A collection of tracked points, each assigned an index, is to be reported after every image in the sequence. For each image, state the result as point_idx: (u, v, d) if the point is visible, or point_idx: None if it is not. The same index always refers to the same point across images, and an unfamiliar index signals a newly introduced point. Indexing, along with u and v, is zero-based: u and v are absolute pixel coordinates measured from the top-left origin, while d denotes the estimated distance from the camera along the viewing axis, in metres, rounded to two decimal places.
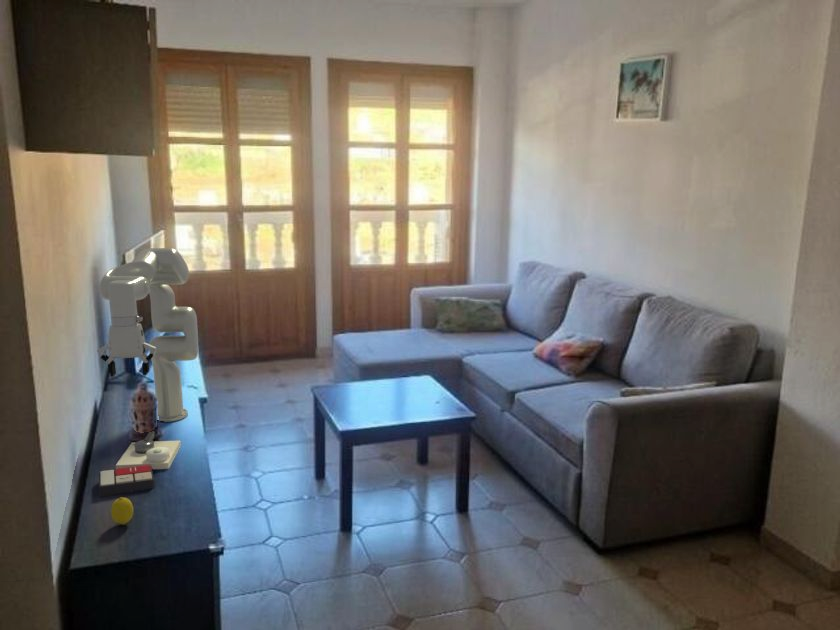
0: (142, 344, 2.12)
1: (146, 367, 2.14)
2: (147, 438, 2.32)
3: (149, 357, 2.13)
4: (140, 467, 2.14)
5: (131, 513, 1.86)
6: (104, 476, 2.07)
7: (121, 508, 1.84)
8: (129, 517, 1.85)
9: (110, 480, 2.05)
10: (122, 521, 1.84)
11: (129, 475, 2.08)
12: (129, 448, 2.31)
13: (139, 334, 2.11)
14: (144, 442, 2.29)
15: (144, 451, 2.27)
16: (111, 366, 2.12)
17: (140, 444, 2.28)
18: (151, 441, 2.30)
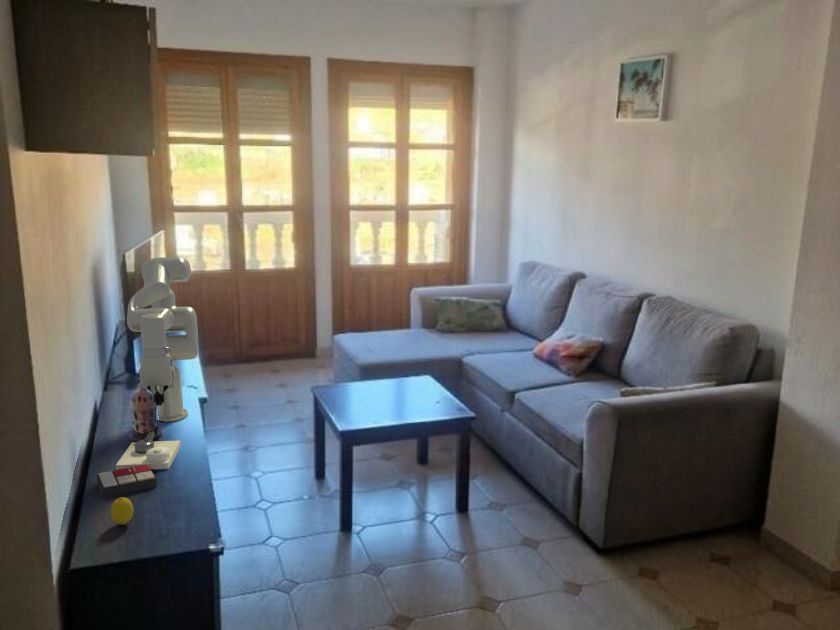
0: (171, 373, 2.26)
1: (161, 398, 2.28)
2: (147, 438, 2.32)
3: (164, 389, 2.28)
4: (138, 467, 2.14)
5: (131, 513, 1.86)
6: (104, 478, 2.06)
7: (121, 508, 1.84)
8: (129, 517, 1.85)
9: (112, 481, 2.04)
10: (122, 521, 1.84)
11: (130, 475, 2.08)
12: (129, 448, 2.31)
13: (169, 364, 2.25)
14: (144, 442, 2.29)
15: (144, 451, 2.27)
16: (156, 396, 2.28)
17: (140, 444, 2.28)
18: (151, 441, 2.30)
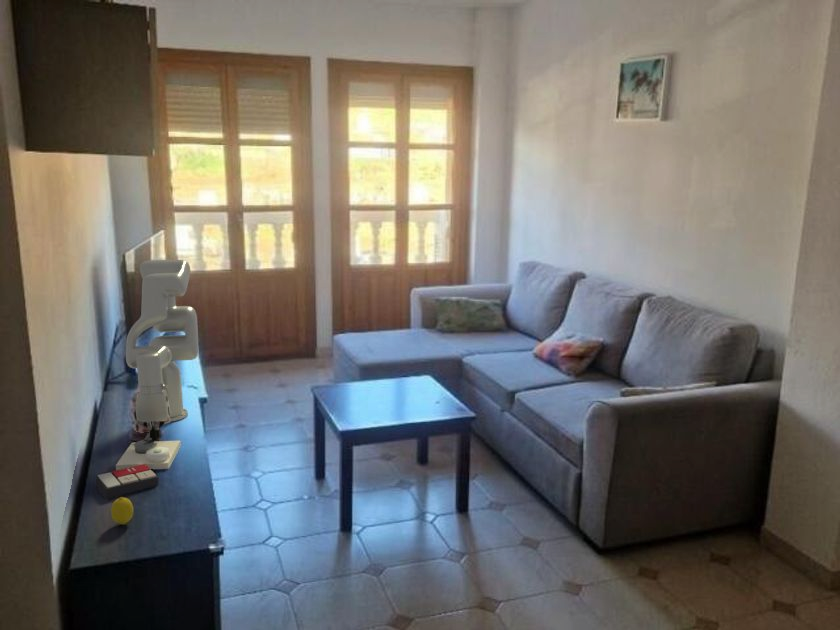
0: (167, 409, 2.32)
1: (157, 433, 2.34)
2: (147, 438, 2.32)
3: (160, 424, 2.33)
4: (137, 467, 2.14)
5: (131, 513, 1.86)
6: (105, 479, 2.05)
7: (121, 508, 1.84)
8: (129, 517, 1.85)
9: (114, 482, 2.04)
10: (122, 521, 1.84)
11: (131, 475, 2.08)
12: (129, 448, 2.31)
13: (164, 400, 2.31)
14: (144, 442, 2.29)
15: (144, 451, 2.27)
16: (152, 432, 2.33)
17: (140, 444, 2.27)
18: (151, 441, 2.30)
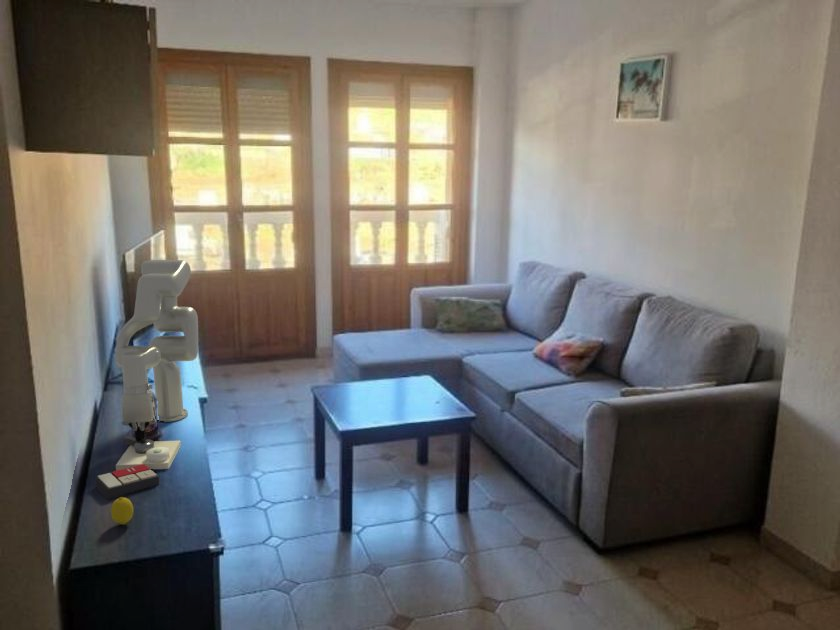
0: (152, 409, 2.31)
1: (143, 434, 2.33)
2: (137, 440, 2.31)
3: (145, 425, 2.32)
4: (136, 467, 2.14)
5: (131, 513, 1.86)
6: (105, 479, 2.05)
7: (121, 508, 1.84)
8: (129, 517, 1.85)
9: (115, 482, 2.04)
10: (122, 521, 1.84)
11: (131, 475, 2.08)
12: (129, 448, 2.31)
13: (150, 401, 2.30)
14: (143, 442, 2.29)
15: None
16: (138, 433, 2.32)
17: (144, 444, 2.28)
18: (147, 440, 2.31)
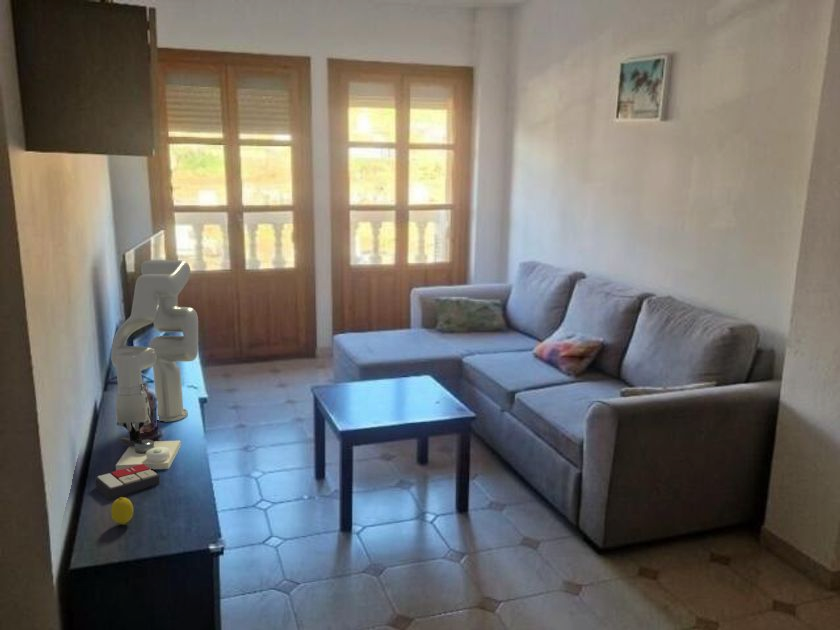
0: (147, 410, 2.31)
1: (137, 435, 2.33)
2: (136, 440, 2.31)
3: (140, 426, 2.33)
4: (136, 467, 2.14)
5: (131, 513, 1.86)
6: (106, 480, 2.05)
7: (121, 508, 1.84)
8: (129, 517, 1.85)
9: (116, 482, 2.04)
10: (122, 521, 1.84)
11: (132, 475, 2.08)
12: (129, 448, 2.31)
13: (144, 401, 2.30)
14: (142, 442, 2.29)
15: None
16: (132, 433, 2.32)
17: (145, 444, 2.28)
18: (146, 440, 2.31)
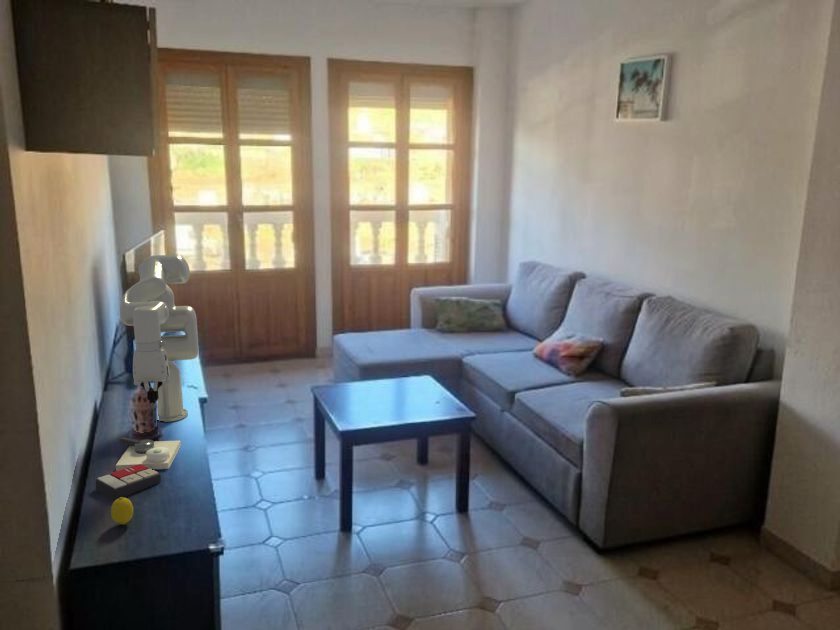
0: (166, 368, 2.16)
1: (155, 395, 2.18)
2: (136, 440, 2.31)
3: (158, 385, 2.17)
4: (134, 467, 2.14)
5: (131, 513, 1.86)
6: (108, 481, 2.04)
7: (121, 508, 1.84)
8: (129, 517, 1.85)
9: (119, 482, 2.04)
10: (121, 521, 1.84)
11: (133, 475, 2.08)
12: (129, 448, 2.31)
13: (163, 359, 2.15)
14: (142, 442, 2.29)
15: None
16: (150, 393, 2.17)
17: (145, 444, 2.28)
18: (146, 440, 2.31)
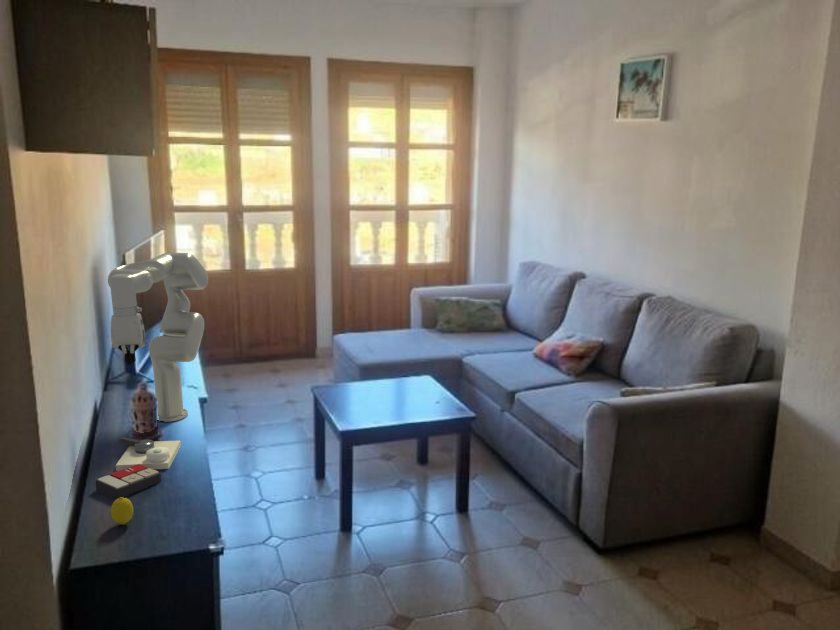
0: (142, 332, 2.31)
1: (132, 357, 2.33)
2: (136, 440, 2.31)
3: (135, 348, 2.32)
4: (133, 467, 2.14)
5: (131, 513, 1.86)
6: (109, 481, 2.04)
7: (121, 508, 1.84)
8: (129, 517, 1.85)
9: (120, 482, 2.03)
10: (122, 521, 1.84)
11: (133, 474, 2.09)
12: (129, 448, 2.31)
13: (139, 323, 2.30)
14: (142, 442, 2.29)
15: None
16: (127, 356, 2.32)
17: (145, 444, 2.28)
18: (146, 440, 2.31)
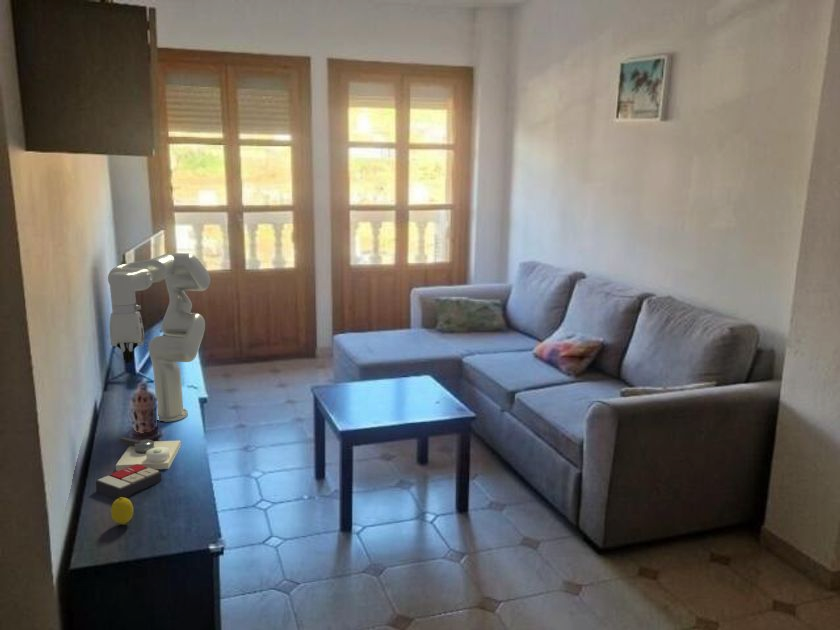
0: (140, 330, 2.31)
1: (131, 355, 2.33)
2: (136, 440, 2.31)
3: (134, 346, 2.33)
4: (132, 467, 2.14)
5: (131, 513, 1.86)
6: (110, 481, 2.04)
7: (121, 508, 1.84)
8: (129, 517, 1.85)
9: (122, 482, 2.03)
10: (122, 521, 1.84)
11: (134, 474, 2.09)
12: (129, 448, 2.31)
13: (138, 321, 2.30)
14: (142, 442, 2.29)
15: None
16: (126, 353, 2.32)
17: (145, 444, 2.28)
18: (146, 440, 2.31)
